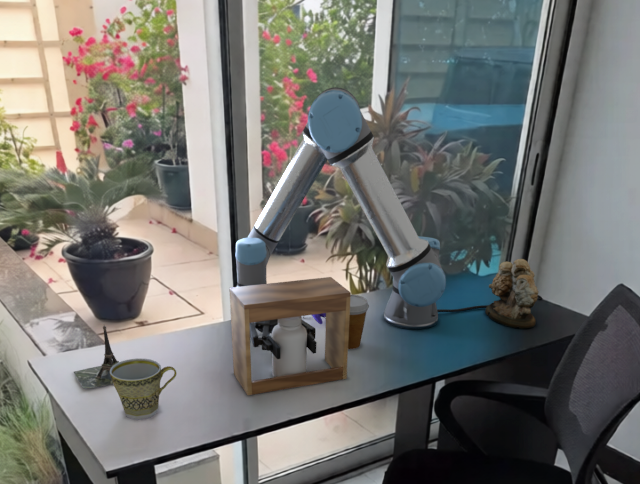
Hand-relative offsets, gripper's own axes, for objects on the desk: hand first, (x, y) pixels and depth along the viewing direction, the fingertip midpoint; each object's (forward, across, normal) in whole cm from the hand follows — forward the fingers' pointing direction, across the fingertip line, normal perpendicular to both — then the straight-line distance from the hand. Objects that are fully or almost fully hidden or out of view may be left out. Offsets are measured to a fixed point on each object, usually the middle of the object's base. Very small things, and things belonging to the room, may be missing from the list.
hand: (296, 350), depth 145 cm
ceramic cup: (+1, +33, -9) cm, 34 cm away
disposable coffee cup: (-16, -20, -9) cm, 28 cm away
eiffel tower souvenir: (-19, +38, -9) cm, 43 cm away
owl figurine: (-18, -72, -9) cm, 75 cm away
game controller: (-34, -20, -9) cm, 40 cm away
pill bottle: (-5, 0, -9) cm, 10 cm away
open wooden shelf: (-4, 0, -8) cm, 10 cm away
